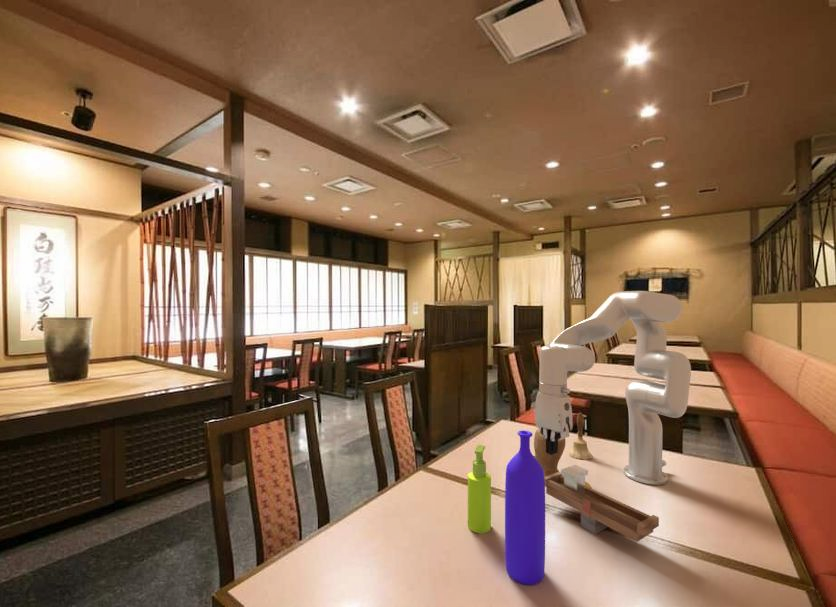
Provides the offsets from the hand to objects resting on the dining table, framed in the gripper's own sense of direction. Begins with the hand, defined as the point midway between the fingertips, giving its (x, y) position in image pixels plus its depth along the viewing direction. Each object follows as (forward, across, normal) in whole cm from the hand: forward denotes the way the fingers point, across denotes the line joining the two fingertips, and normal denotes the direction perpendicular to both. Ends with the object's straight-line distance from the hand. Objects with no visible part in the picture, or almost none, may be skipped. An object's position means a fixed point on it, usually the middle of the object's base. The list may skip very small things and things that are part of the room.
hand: (551, 452), depth 107 cm
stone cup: (+15, +14, -14) cm, 24 cm away
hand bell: (+14, +17, -38) cm, 44 cm away
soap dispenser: (+15, +3, +24) cm, 29 cm away
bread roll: (+15, +1, -13) cm, 20 cm away
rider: (+8, -7, -1) cm, 11 cm away
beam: (+15, -13, -1) cm, 20 cm away
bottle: (+15, -15, +27) cm, 35 cm away
